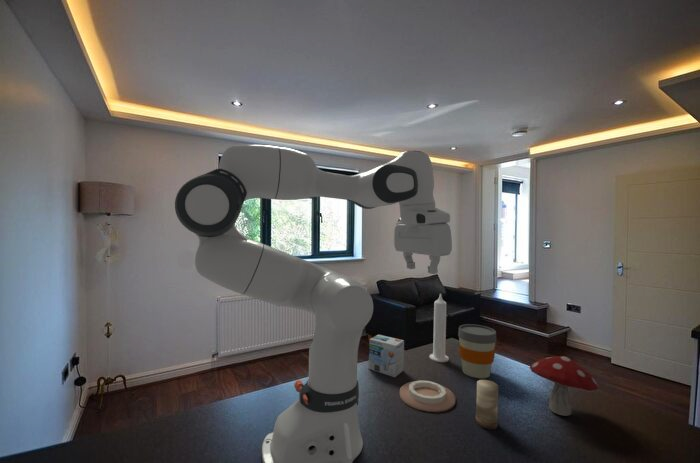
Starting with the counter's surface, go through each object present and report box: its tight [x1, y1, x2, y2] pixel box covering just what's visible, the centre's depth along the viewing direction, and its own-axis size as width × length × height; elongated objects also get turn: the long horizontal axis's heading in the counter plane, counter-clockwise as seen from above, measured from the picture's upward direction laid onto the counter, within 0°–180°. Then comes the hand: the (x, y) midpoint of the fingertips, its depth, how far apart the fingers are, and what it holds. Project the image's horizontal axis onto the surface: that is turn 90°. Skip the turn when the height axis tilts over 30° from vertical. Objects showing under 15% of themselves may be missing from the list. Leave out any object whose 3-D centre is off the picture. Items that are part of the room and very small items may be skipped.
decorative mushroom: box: [529, 355, 599, 417], centre depth 88 cm, size 16×16×15 cm
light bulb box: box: [368, 334, 405, 378], centre depth 112 cm, size 11×7×11 cm, turn 55°
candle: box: [429, 293, 450, 363], centre depth 123 cm, size 7×7×25 cm
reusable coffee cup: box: [457, 323, 498, 379], centre depth 112 cm, size 13×12×15 cm
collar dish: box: [399, 379, 456, 413], centre depth 95 cm, size 16×16×2 cm
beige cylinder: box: [475, 379, 499, 430], centre depth 82 cm, size 5×5×10 cm
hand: (421, 271), depth 81 cm, fingers open, 8 cm apart
